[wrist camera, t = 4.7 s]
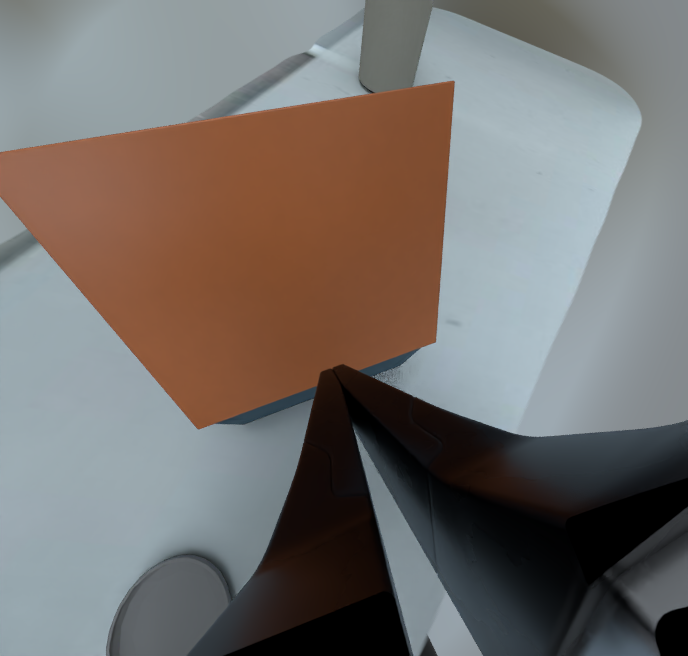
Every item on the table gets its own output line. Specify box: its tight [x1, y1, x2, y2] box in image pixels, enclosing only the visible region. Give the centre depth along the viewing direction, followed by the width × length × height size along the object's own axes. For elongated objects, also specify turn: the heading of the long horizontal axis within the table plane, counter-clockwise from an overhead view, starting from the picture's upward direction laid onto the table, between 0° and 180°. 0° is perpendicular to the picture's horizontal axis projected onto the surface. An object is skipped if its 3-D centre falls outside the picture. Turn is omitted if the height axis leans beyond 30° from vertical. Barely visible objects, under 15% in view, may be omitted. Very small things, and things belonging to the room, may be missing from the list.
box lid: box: [0, 81, 455, 429], centre depth 11 cm, size 11×14×1 cm
